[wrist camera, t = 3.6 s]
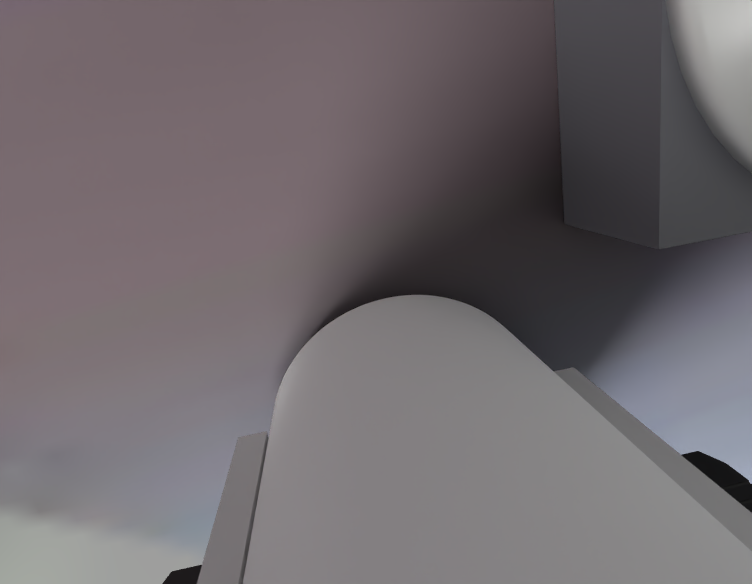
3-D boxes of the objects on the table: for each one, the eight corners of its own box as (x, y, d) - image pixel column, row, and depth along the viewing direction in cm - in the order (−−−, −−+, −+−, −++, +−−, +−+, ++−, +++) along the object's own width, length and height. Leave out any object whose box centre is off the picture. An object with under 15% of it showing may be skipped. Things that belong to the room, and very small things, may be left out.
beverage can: (521, 266, 14) (1439, 758, 3) (534, 491, 16) (1044, 1279, 5) (248, 314, 13) (-165, 1237, 2) (302, 540, 16) (258, 1565, 4)
